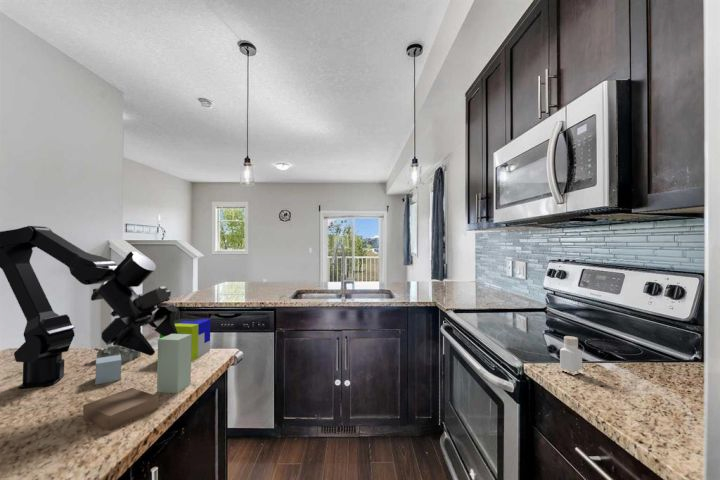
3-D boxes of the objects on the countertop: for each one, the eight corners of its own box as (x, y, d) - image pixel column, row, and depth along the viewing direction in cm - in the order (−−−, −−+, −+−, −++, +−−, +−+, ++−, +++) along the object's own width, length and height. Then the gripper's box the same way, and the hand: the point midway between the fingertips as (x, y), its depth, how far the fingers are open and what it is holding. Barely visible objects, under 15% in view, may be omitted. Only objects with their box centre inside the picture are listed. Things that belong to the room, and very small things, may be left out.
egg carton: (91, 362, 96) (91, 348, 96) (113, 354, 104) (113, 341, 104) (125, 364, 95) (125, 349, 95) (145, 355, 103) (145, 342, 103)
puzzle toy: (209, 350, 108) (210, 319, 108) (191, 361, 98) (191, 326, 98) (180, 349, 109) (181, 318, 109) (159, 359, 99) (159, 325, 99)
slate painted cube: (95, 384, 81) (95, 363, 81) (95, 378, 85) (96, 358, 85) (120, 380, 84) (121, 359, 84) (120, 374, 88) (120, 354, 88)
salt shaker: (573, 376, 88) (573, 340, 89) (559, 371, 92) (558, 336, 92) (583, 374, 90) (583, 338, 90) (568, 369, 94) (568, 335, 94)
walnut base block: (82, 420, 65) (83, 405, 65) (131, 401, 73) (132, 387, 73) (109, 432, 61) (109, 416, 61) (158, 411, 69) (158, 396, 69)
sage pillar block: (156, 392, 77) (157, 339, 77) (170, 383, 82) (171, 333, 82) (177, 393, 76) (178, 340, 77) (190, 384, 81) (191, 334, 82)
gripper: (114, 280, 71) (163, 334, 70) (171, 273, 90) (211, 316, 88) (79, 317, 71) (127, 371, 70) (143, 303, 90) (182, 345, 89)
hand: (166, 347), depth 79 cm, fingers open, 9 cm apart
